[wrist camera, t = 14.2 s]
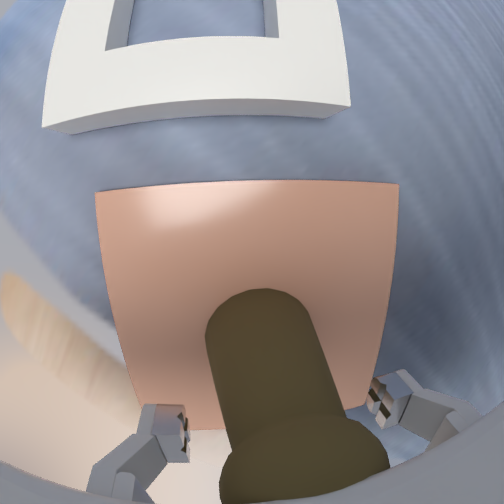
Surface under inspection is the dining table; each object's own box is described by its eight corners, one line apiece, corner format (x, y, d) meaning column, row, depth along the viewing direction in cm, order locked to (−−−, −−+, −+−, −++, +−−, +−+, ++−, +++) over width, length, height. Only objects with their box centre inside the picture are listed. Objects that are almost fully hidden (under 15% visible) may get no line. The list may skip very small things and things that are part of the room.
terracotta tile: (393, 183, 14) (399, 184, 14) (361, 400, 18) (364, 404, 18) (99, 191, 12) (94, 192, 12) (150, 423, 17) (149, 429, 16)
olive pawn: (208, 283, 14) (208, 502, 3) (322, 291, 15) (457, 443, 4) (202, 377, 15) (207, 555, 5) (300, 378, 16) (367, 529, 6)
